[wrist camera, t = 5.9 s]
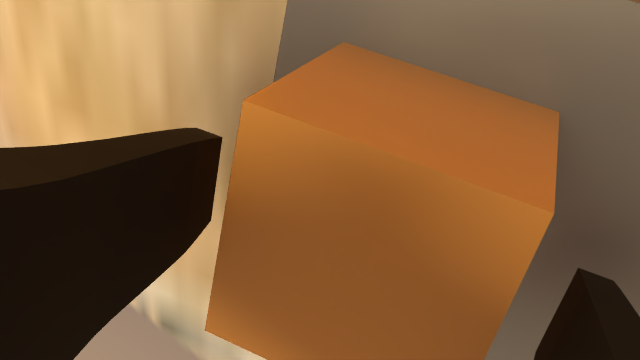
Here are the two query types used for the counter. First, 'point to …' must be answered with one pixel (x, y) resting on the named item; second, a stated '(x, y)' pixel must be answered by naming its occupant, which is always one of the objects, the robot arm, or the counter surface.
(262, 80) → the counter surface
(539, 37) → the grey flat block
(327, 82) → the solid orange cube
